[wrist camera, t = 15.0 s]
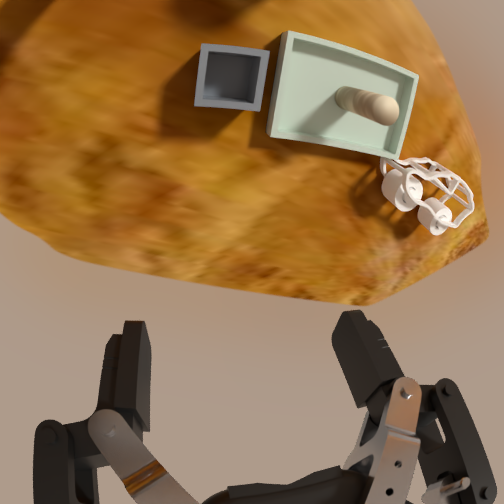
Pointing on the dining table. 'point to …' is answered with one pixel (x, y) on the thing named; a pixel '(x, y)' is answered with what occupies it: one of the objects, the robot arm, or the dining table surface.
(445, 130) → the dining table surface
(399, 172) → the white wireframe roller cage
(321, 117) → the tray
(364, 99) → the dowel pin
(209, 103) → the deep cup
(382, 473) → the robot arm
